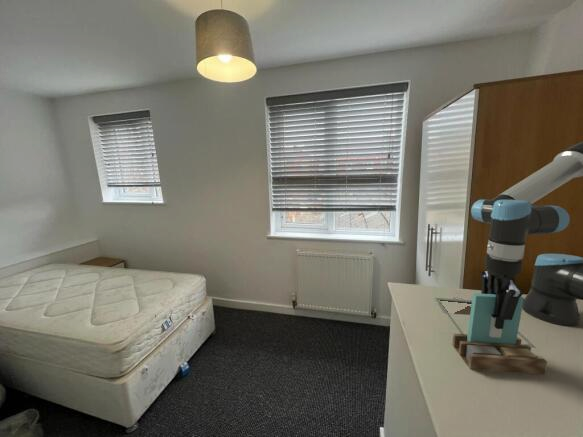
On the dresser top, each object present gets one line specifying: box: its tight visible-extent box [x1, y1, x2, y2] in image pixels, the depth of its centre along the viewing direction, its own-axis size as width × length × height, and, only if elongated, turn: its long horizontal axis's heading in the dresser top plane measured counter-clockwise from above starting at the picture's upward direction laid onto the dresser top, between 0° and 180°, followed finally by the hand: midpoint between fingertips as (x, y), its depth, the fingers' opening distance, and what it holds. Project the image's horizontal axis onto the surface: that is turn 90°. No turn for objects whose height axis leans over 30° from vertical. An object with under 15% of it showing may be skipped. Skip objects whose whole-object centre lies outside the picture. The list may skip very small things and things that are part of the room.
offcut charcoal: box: [466, 345, 502, 361], centre depth 69 cm, size 7×3×4 cm, turn 83°
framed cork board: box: [434, 297, 537, 349], centre depth 90 cm, size 19×2×30 cm
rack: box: [451, 333, 548, 376], centre depth 70 cm, size 18×9×5 cm, turn 83°
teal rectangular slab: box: [467, 293, 525, 345], centre depth 71 cm, size 12×2×18 cm, turn 83°
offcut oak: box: [500, 347, 538, 358], centre depth 67 cm, size 7×3×4 cm, turn 83°
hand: (492, 333), depth 71 cm, fingers closed on teal rectangular slab, 2 cm apart
